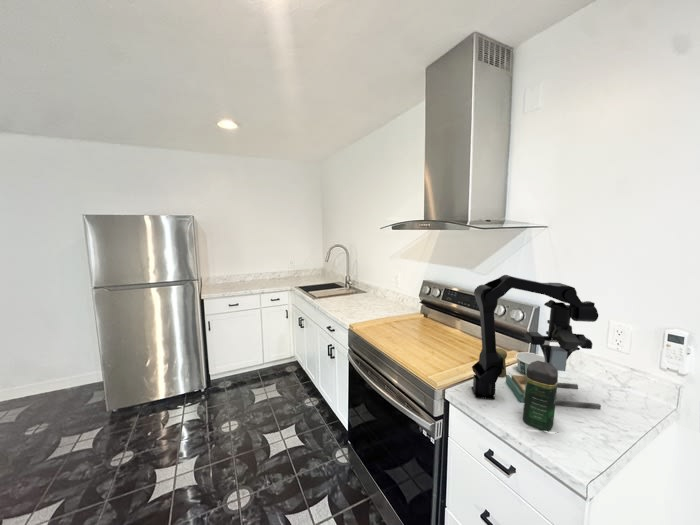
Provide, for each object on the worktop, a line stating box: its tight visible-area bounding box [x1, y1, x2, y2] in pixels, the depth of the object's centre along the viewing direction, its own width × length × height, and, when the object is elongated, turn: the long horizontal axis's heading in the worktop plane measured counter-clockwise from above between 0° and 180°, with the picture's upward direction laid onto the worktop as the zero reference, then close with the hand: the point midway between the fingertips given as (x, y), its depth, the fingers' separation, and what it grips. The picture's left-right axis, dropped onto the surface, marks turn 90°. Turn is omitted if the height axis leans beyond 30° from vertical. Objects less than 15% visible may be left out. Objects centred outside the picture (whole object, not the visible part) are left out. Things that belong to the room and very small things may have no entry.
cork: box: [496, 347, 508, 378], centre depth 117 cm, size 6×6×11 cm
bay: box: [505, 374, 602, 410], centre depth 103 cm, size 26×16×4 cm, turn 81°
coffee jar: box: [522, 361, 559, 432], centre depth 89 cm, size 10×8×19 cm
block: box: [545, 345, 568, 372], centre depth 101 cm, size 4×4×7 cm
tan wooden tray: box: [510, 374, 526, 397], centre depth 104 cm, size 10×10×4 cm
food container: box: [515, 351, 545, 376], centre depth 119 cm, size 12×12×6 cm
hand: (554, 363), depth 102 cm, fingers closed on block, 4 cm apart
